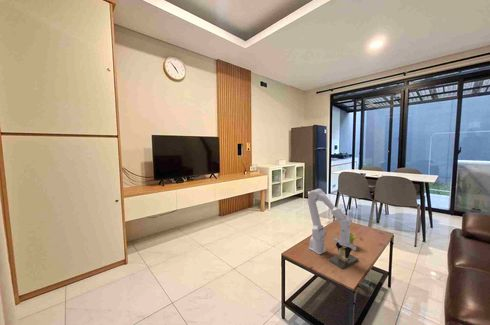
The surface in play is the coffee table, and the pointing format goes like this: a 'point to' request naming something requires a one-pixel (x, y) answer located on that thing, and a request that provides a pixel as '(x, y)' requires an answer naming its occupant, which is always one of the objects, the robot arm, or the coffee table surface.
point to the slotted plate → (341, 263)
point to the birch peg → (342, 254)
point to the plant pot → (351, 238)
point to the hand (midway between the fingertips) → (343, 255)
